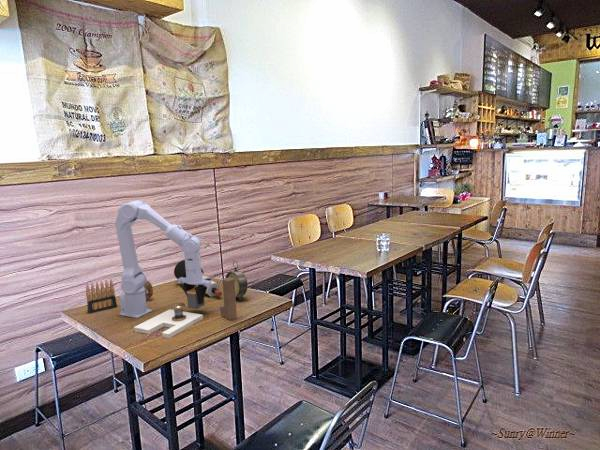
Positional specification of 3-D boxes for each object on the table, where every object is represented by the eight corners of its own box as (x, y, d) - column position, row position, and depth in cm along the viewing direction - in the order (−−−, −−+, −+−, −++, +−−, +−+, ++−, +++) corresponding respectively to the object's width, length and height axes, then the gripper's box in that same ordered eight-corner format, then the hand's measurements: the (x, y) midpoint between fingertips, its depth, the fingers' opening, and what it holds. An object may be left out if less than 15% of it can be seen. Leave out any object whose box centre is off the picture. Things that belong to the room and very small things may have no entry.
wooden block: (237, 317, 160) (234, 278, 158) (229, 320, 158) (226, 280, 156) (228, 313, 165) (225, 275, 163) (220, 315, 163) (217, 277, 160)
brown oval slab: (125, 296, 189) (123, 278, 188) (131, 294, 192) (129, 276, 190) (149, 301, 181) (147, 282, 180) (155, 299, 184) (153, 280, 183)
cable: (215, 310, 181) (205, 293, 176) (180, 284, 206) (170, 268, 201) (234, 295, 185) (224, 277, 180) (197, 271, 211) (187, 255, 205)
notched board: (134, 331, 152) (133, 327, 152) (170, 312, 168) (169, 309, 168) (168, 338, 145) (168, 334, 145) (203, 318, 161) (202, 314, 161)
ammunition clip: (115, 305, 178) (112, 277, 176) (117, 307, 177) (113, 278, 175) (87, 312, 172) (83, 283, 170) (88, 314, 170) (85, 284, 168)
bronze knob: (169, 320, 157) (167, 307, 156) (178, 315, 161) (177, 302, 160) (179, 322, 155) (178, 308, 154) (189, 316, 159) (187, 304, 158)
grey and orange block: (188, 308, 165) (186, 291, 164) (196, 303, 170) (195, 287, 168) (196, 309, 163) (195, 292, 162) (204, 304, 168) (203, 288, 167)
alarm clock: (225, 297, 183) (222, 260, 180) (236, 294, 187) (233, 257, 184) (240, 303, 175) (237, 264, 172) (250, 299, 179) (248, 261, 176)
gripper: (215, 267, 164) (217, 301, 167) (185, 264, 171) (188, 297, 173) (203, 272, 158) (206, 308, 160) (173, 269, 164) (176, 303, 167)
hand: (196, 302), depth 166 cm, fingers closed on grey and orange block, 4 cm apart
